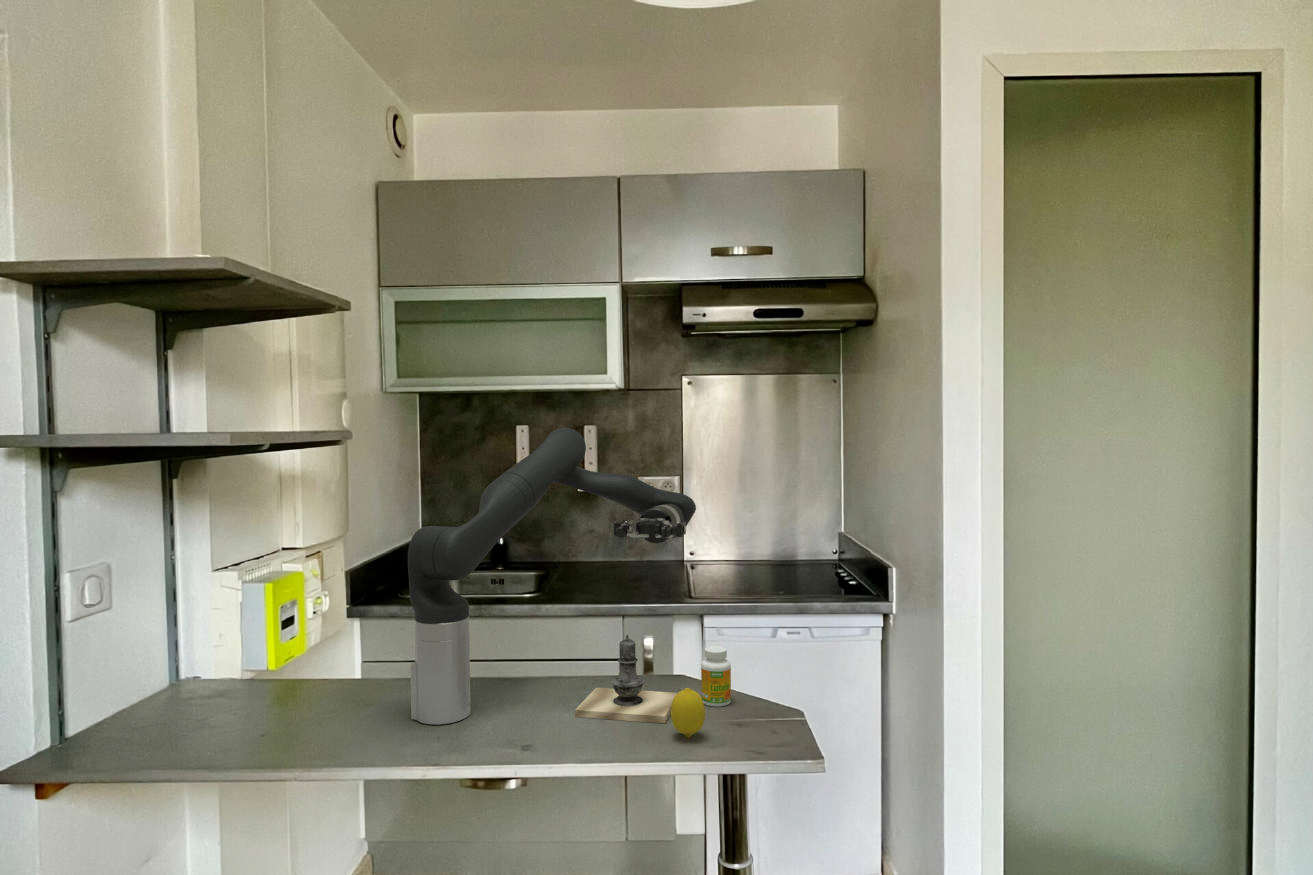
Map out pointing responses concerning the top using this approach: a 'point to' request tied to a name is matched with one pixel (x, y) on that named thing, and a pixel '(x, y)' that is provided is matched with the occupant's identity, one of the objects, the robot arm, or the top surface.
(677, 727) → the lemon
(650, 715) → the birch board
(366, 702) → the top surface
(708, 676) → the supplement bottle
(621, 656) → the salt shaker
